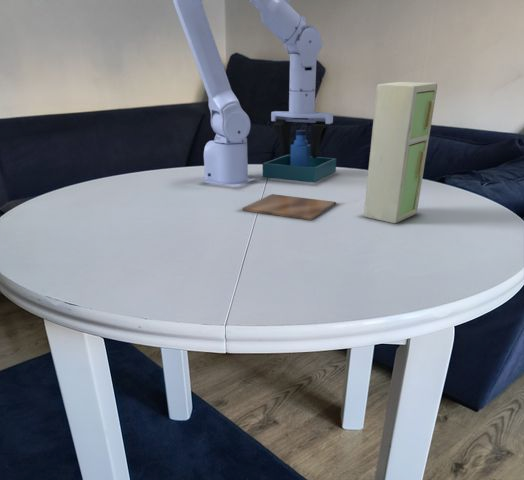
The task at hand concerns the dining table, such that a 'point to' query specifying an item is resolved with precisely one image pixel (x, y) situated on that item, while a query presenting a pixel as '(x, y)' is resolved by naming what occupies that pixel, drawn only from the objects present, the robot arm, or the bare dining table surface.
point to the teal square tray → (299, 169)
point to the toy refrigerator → (398, 149)
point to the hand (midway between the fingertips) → (300, 156)
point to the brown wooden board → (290, 206)
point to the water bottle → (300, 150)
